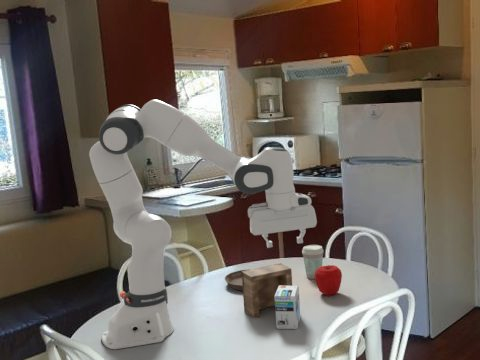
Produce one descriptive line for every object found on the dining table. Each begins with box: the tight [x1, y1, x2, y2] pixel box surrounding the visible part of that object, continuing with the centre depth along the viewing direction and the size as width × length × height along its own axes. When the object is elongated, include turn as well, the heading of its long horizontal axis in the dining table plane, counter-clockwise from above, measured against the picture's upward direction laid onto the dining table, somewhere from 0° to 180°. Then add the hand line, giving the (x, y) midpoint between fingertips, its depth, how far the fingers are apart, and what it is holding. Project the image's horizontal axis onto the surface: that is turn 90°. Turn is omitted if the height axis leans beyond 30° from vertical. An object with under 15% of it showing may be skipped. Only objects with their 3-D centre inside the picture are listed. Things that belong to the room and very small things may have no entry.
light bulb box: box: [274, 285, 301, 330], centre depth 183 cm, size 11×7×11 cm, turn 168°
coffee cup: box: [301, 244, 325, 280], centre depth 227 cm, size 9×8×12 cm
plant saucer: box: [224, 268, 251, 292], centre depth 225 cm, size 21×21×3 cm
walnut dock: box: [242, 263, 293, 319], centre depth 195 cm, size 15×8×14 cm, turn 114°
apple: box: [314, 264, 343, 297], centre depth 207 cm, size 10×10×11 cm
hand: (285, 245), depth 175 cm, fingers open, 8 cm apart
